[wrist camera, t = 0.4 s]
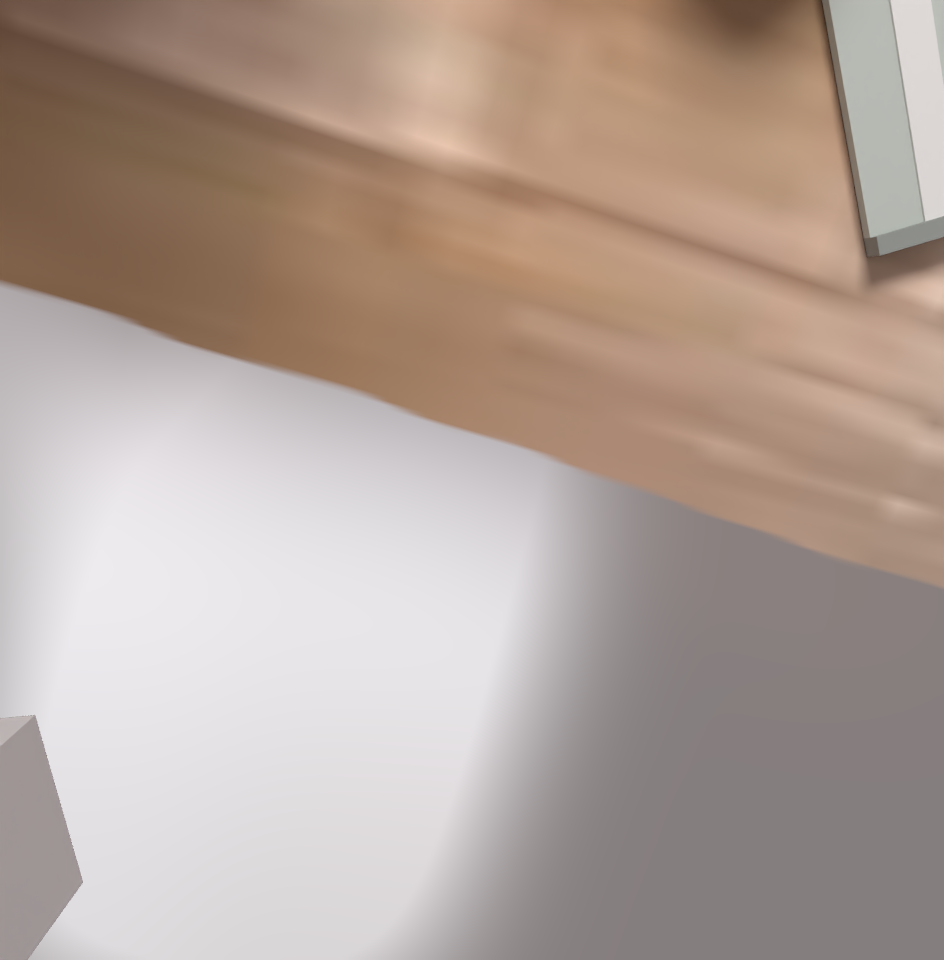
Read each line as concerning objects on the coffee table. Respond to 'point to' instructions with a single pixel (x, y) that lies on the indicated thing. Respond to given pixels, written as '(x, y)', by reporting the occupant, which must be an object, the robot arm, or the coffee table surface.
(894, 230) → the mat
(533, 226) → the coffee table surface
